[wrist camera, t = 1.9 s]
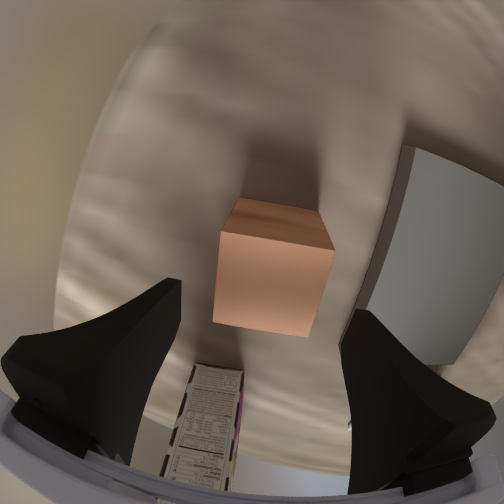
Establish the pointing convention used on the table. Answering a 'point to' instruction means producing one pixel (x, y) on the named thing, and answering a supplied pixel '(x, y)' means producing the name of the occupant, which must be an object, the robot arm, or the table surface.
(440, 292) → the board
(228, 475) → the candy bar box
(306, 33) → the table surface
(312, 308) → the block
